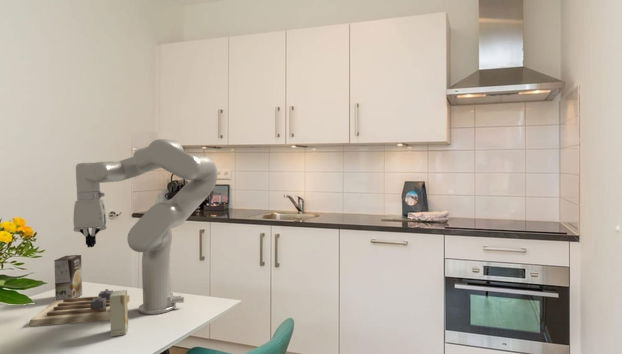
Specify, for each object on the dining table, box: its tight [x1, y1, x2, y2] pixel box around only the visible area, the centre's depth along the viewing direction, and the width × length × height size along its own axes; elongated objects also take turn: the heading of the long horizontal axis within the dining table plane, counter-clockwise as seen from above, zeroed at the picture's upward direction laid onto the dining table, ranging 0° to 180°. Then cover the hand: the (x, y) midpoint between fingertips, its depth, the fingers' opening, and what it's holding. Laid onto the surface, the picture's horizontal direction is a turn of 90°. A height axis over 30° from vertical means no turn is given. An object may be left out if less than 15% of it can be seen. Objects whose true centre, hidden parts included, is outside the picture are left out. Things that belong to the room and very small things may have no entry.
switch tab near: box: [90, 297, 106, 309], centre depth 148 cm, size 4×4×4 cm
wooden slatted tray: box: [29, 295, 130, 327], centre depth 151 cm, size 26×20×3 cm
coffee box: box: [54, 254, 83, 301], centre depth 167 cm, size 9×6×16 cm
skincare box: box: [109, 289, 129, 337], centre depth 132 cm, size 6×4×12 cm
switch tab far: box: [97, 288, 114, 300], centre depth 157 cm, size 4×4×4 cm
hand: (91, 246), depth 157 cm, fingers closed
